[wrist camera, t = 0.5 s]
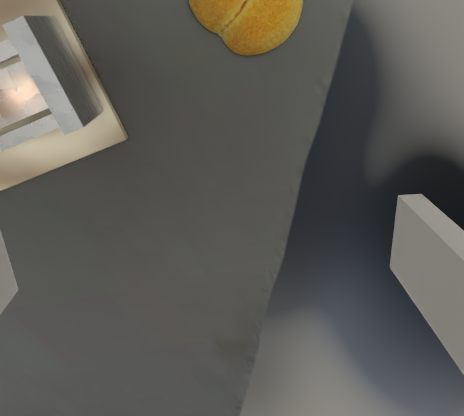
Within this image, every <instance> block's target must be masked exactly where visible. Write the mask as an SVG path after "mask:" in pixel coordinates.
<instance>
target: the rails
mask: <svg viewBox="0 0 464 416" xmlns="http://www.w3.org/2000/svg"><path fill="white" fill-rule="evenodd" d="M18 56H19V54H18V53H17V51H16V49H15V47H14V45H13V44H12V42H11V40H10V38H9V39H7V40H5V41H3V42H0V64H2V63H5V62H7V61H9V60H11V59H13V58H16V57H18ZM57 128H59V125H58V123H57V121H56V120H55V118H54V116H53V114H52V113H50V114H48V115H45V116H43V117H41V118H38V119H36V120H34V121H31V122H29V123H27V124H24V125H22V126H20V127H17V128H15V129H13V130H10V131H8V132H5V133H3V134H1V135H0V152H2V151H4V150H7V149H9V148H11V147H14V146H16V145H18V144H21V143H23V142H26V141H28V140H30V139H33V138H35V137H38V136H40V135H42V134H45V133H47V132H49V131H52V130H54V129H57Z"/></svg>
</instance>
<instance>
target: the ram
mask: <svg viewBox="0 0 464 416" xmlns="http://www.w3.org/2000/svg"><path fill="white" fill-rule="evenodd" d="M2 26H3V28H4V30H5V31H6V33H7V35H8V37H9V38H10V40H11V42H12V44H13V45H14V47H15V49H16V51H17V53H18V54H19V56H20V58H21V60H22V61H19V62H17V63H15V64H13V65H11V66H8V67H6V68H4V69H2V70H0V129H1V128H3V127H5V126H8V125H10V124H12V123H15V122H17V121H19V120H22V119H24V118H26V117H29V116H31V115H33V114H36V113H38V112H41V111H43V110H45V109H48V108H49V109H50V111H51V113H52V114H53V116H54V118H55V120H56V121H57V123H58V125H59V127H60V129H61V130H62V132H63V134H64V135H66V134H69V133H71V132H74V131H76V130H78V129H81V128H83V127H85V126H86V125H87V124H88V123H90V122H91V121H92V120H93V119H95V118H96V117H97V116H98V115H100V114H101V113H102V112H103V109H102V107H101V105H100V103H99V101H98V99H97V97H96V95H95V93H94V91H93V89H92V88H91V86H90V84H89V82H88V80H87V78H86V76H85V74H84V72H83V70H82V68H81V66H80V64H79V62H78V60H77V58H76V56H75V55H74V53H73V51H72V49H71V47H70V45H69V43H68V41H67V39H66V37H65V35H64V33H63V31H62V29H61V27H60V25H59V23H58V22H57V20H56V18H55V16H25V15H23V16H21V17H19V18H16V19H14V20H12V21H10V22H8V23H6V24H3V25H2Z"/></svg>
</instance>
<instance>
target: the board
mask: <svg viewBox="0 0 464 416" xmlns="http://www.w3.org/2000/svg"><path fill="white" fill-rule="evenodd" d="M23 15H25V16H55V18H56V20H57V22H58V23H59V25H60V27H61V29H62V31H63V33H64V35H65V37H66V39H67V41H68V43H69V45H70V47H71V49H72V51H73V53H74V55H75V56H76V58H77V60H78V62H79V64H80V66H81V68H82V70H83V72H84V74H85V76H86V78H87V80H88V82H89V84H90V86H91V88H92V89H93V91H94V93H95V95H96V97H97V99H98V101H99V103H100V105H101V107H102V109H103V112H102V113H101V114H100V115H98V116H97V117H96V118H95V119H93V120H92V121H91V122H90V123H88V124H87V125H86V126H85V127H83V128H81V129H78V130H76V131H74V132H71V133H69V134H66V135H64V134H63V132H62V130H61V129H60V127H59V128H57V129H54V130H52V131H49V132H47V133H45V134H42V135H40V136H38V137H35V138H33V139H30V140H28V141H26V142H23V143H21V144H18V145H16V146H14V147H11V148H9V149H7V150H4V151H2V152H0V191H1V190H4V189H6V188H9V187H11V186H14V185H16V184H19V183H21V182H24V181H26V180H28V179H31V178H33V177H36V176H38V175H41V174H43V173H46V172H48V171H51V170H53V169H56V168H58V167H60V166H63V165H65V164H68V163H70V162H73V161H75V160H78V159H80V158H83V157H85V156H87V155H90V154H92V153H95V152H97V151H100V150H102V149H105V148H107V147H110V146H112V145H114V144H117V143H119V142H122V141H124V140H127V139H128V135H127V133H126V131H125V129H124V127H123V125H122V123H121V121H120V119H119V117H118V115H117V113H116V111H115V109H114V107H113V106H112V104H111V102H110V100H109V98H108V96H107V94H106V92H105V90H104V88H103V86H102V84H101V82H100V80H99V78H98V76H97V74H96V72H95V70H94V68H93V66H92V64H91V62H90V60H89V58H88V56H87V54H86V52H85V50H84V48H83V46H82V44H81V42H80V40H79V38H78V36H77V34H76V32H75V30H74V28H73V26H72V24H71V22H70V20H69V18H68V16H67V14H66V12H65V10H64V8H63V6H62V4H61V2H60V0H0V42H3V41H5V40H7V39H9V37H8V35H7V33H6V31H5V30H4V28H3V26H2V25H3V24H6V23H8V22H10V21H12V20H14V19H16V18H19V17H21V16H23ZM19 61H22V60H21V58H20V56H18V57H16V58H13V59H11V60H9V61H7V62H5V63H2V64H0V70H2V69H4V68H6V67H8V66H11V65H13V64H15V63H17V62H19ZM50 113H51V111H50V109H49V108H48V109H45V110H43V111H41V112H38V113H36V114H33V115H31V116H29V117H26V118H24V119H22V120H19V121H17V122H15V123H12V124H10V125H8V126H5V127H3V128H1V129H0V135H1V134H3V133H5V132H8V131H10V130H13V129H15V128H17V127H20V126H22V125H24V124H27V123H29V122H31V121H34V120H36V119H38V118H41V117H43V116H45V115H48V114H50Z"/></svg>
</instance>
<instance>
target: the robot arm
mask: <svg viewBox="0 0 464 416" xmlns="http://www.w3.org/2000/svg"><path fill="white" fill-rule="evenodd" d="M390 268H391V270H392V271H393V273H394V274H395V276H396V277H397V278H398V280H399V281H400V283H401V284H402V286H403V287H404V289H405V290H406V291H407V293H408V294H409V296H410V297H411V299H412V300H413V302H414V303H415V305H416V306H417V307H418V309H419V310H420V312H421V313H422V315H423V316H424V318H425V319H426V320H427V322H428V324H429V325H430V326H431V328H432V329H433V331H434V332H435V334H436V335H437V337H438V338H439V339H440V341H441V342H442V344H443V345H444V347H445V348H446V350H447V351H448V353H449V354H450V356H451V357H452V358H453V360H454V361H455V363H456V364H457V366H458V367H459V368H460V370H461V372H462V373H463V374H464V231H463V230H462V229H461V228H459V226H457V225H456V224H455V223H454V222H453V221H452V220H451V219H449V218H448V217H447V216H446V215H445V214H444V213H443V212H441V211H440V210H439V209H438V208H437V207H436V206H435V205H433V204H432V203H431V202H430V201H429V200H428V199H427V198H425V197H424V196H423V195H422V194H413V195H399V196H398V201H397V210H396V218H395V227H394V235H393V244H392V253H391V262H390ZM17 291H18V287H17V283H16V280H15V277H14V274H13V270H12V267H11V264H10V260H9V257H8V254H7V251H6V247H5V244H4V241H3V237H2V234H1V231H0V314H1V313H2V312H3V310H4V309H5V307H6V306H7V305H8V303H9V302H10V301H11V299H12V298H13V296H14V295H15V294H16V292H17Z"/></svg>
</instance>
